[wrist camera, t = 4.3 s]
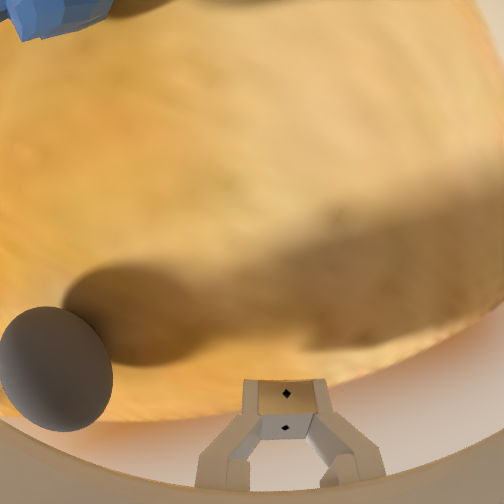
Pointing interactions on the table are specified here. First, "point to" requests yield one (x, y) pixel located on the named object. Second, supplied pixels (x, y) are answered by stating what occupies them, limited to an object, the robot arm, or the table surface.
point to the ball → (55, 369)
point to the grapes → (52, 16)
